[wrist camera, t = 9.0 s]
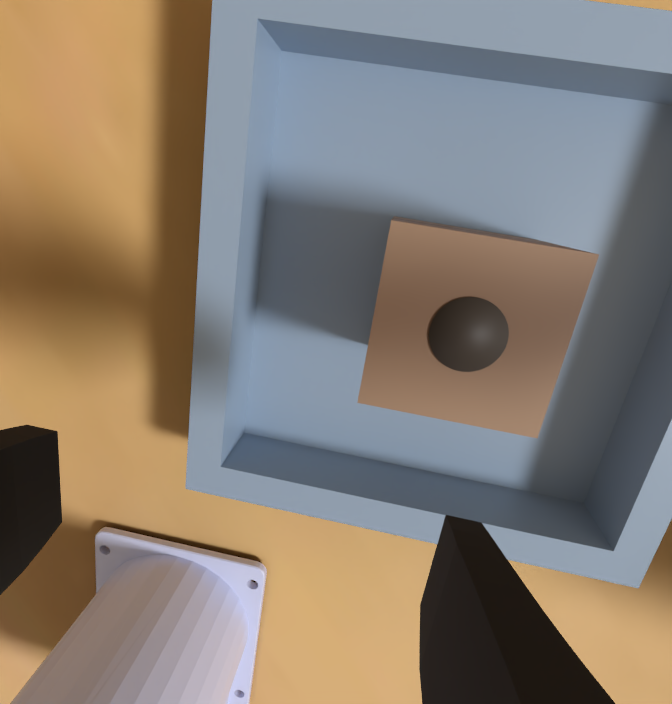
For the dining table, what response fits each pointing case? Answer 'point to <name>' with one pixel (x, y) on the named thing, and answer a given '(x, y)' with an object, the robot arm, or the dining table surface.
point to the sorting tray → (444, 208)
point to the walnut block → (472, 325)
